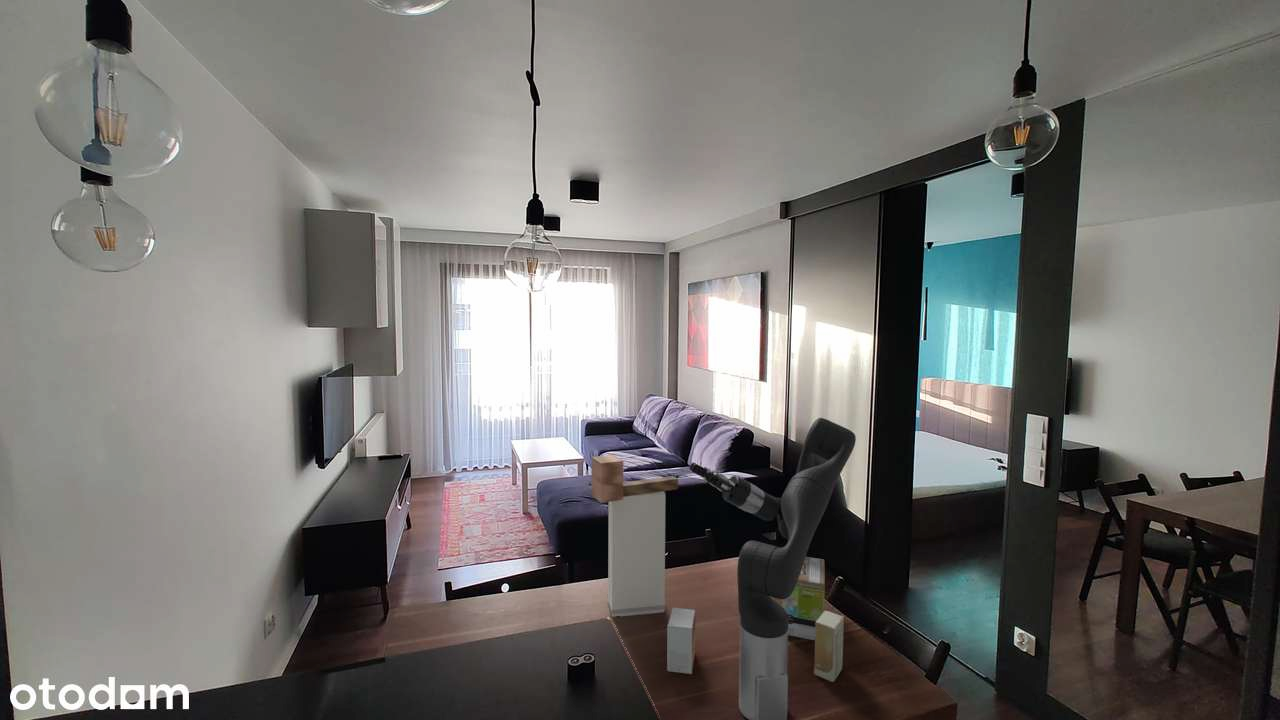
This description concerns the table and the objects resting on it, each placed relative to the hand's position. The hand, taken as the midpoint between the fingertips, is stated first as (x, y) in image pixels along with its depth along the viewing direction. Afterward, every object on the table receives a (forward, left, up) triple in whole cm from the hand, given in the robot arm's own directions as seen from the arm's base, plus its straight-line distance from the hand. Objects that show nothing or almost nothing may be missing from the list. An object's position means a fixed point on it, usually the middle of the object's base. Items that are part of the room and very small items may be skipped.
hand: (692, 466), depth 143 cm
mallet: (-2, +16, -6) cm, 17 cm away
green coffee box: (-15, -26, -38) cm, 48 cm away
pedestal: (0, +15, -38) cm, 41 cm away
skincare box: (-34, -22, -38) cm, 55 cm away
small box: (-25, +9, -38) cm, 47 cm away
